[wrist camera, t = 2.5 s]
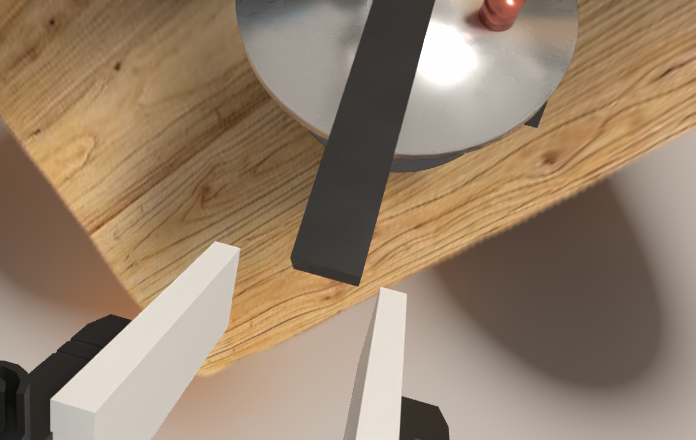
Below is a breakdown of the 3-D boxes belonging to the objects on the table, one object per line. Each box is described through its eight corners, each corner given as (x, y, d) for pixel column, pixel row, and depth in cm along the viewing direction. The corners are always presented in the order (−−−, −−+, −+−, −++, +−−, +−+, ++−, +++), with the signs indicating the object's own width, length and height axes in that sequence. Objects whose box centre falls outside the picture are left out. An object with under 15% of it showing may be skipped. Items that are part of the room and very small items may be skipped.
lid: (135, 230, 23) (105, 207, 20) (296, -137, 31) (292, -192, 28) (525, 338, 22) (556, 331, 19) (584, -70, 30) (613, -120, 27)
